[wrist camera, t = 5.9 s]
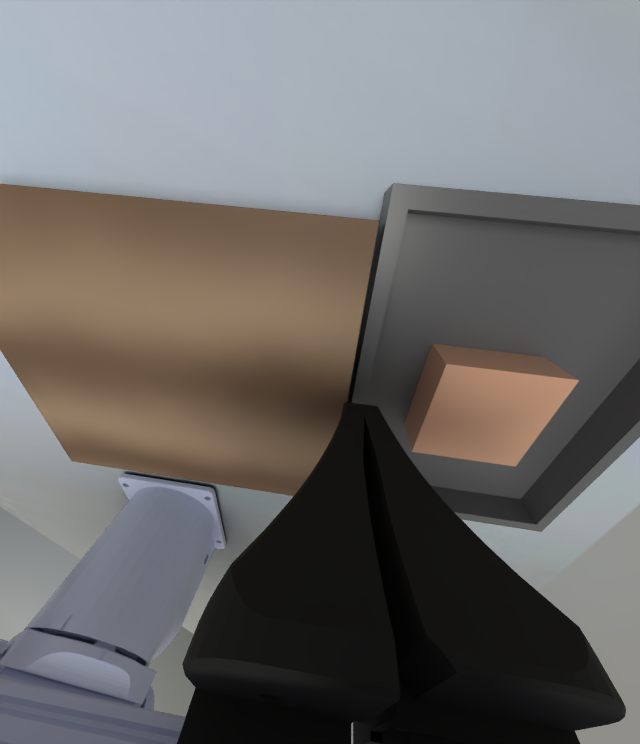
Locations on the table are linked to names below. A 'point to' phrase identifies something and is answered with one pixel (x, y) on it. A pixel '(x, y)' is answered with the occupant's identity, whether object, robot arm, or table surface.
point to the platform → (183, 330)
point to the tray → (508, 331)
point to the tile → (484, 403)
